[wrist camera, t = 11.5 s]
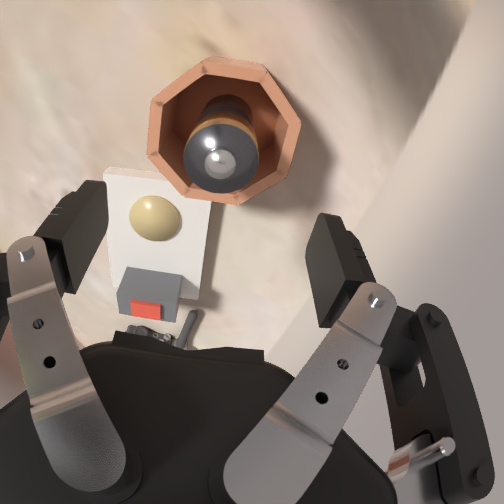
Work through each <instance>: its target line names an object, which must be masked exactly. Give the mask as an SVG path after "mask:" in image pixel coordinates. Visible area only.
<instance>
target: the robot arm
mask: <svg viewBox="0 0 504 504" xmlns="http://www.w3.org/2000/svg"><path fill="white" fill-rule="evenodd" d="M108 223H109V212H108V198H107V185H106V182H104V181H94V180H86V181H85V182H84V183H83V184H82V185H81V186H80V188H79V189H78V190H77V191H76V192H71V193H69V194H68V195H66V196H65V197H63V198H62V199H61V200H60V201H59V203H58V204H57V205H56V208H54V209H53V210H52V211H51V213H50V215H48V217H47V218H46V219H45V221H44V222H43V223H42V224H41V226H40V227H39V228H38V230H37V231H36V233H35V234H34V235H33V236H27V237H23V238H21V239H19V240H17V241H15V242H14V243H13V244H12V245H11V246H10V247H9V249H8V251H7V253H0V341H1V338H2V336H3V334H4V331H5V329H6V326H7V324H8V322H9V319H10V323H11V328H12V333H13V338H14V343H15V347H16V352H17V356H18V360H19V364H20V368H21V372H22V375H23V379H24V383H25V386H26V389H27V390H25V391H24V392H23V393H21V394H20V395H19V396H17V397H16V398H15V399H14V400H12V401H11V402H9V403H8V404H7V405H6V406H4V407H3V408H2V409H0V504H469V503H471V502H474V501H477V500H480V499H482V498H484V497H485V496H487V495H488V494H489V492H490V491H491V489H492V487H493V484H494V478H495V476H494V475H495V473H494V467H493V461H492V457H491V452H490V448H489V443H488V439H487V434H486V430H485V427H484V423H483V419H482V415H481V412H480V408H479V405H478V401H477V398H476V395H475V392H474V388H473V385H472V382H471V379H470V376H469V373H468V370H467V367H466V364H465V361H464V359H463V356H462V353H461V351H460V348H459V345H458V343H457V340H456V337H455V335H454V332H453V330H452V327H451V326H450V323H449V320H448V318H447V316H446V315H445V314H444V313H443V312H442V310H440V309H439V308H438V307H436V306H434V305H432V304H428V303H424V304H421V305H420V306H419V308H418V309H417V310H416V311H415V312H413V311H410V310H408V309H405V308H402V307H400V306H397V303H396V299H395V297H394V296H393V294H392V293H391V292H390V291H389V290H388V289H386V288H385V287H383V286H382V285H380V284H378V283H376V280H375V278H374V275H373V273H372V270H371V268H370V266H369V263H368V261H367V259H366V256H365V254H364V252H363V249H362V247H361V244H360V242H359V240H358V239H357V238H356V237H355V236H354V234H353V233H352V232H351V231H347V230H346V228H345V226H344V224H343V221H342V219H341V217H340V216H336V215H331V214H326V213H320V214H319V215H318V217H317V220H316V223H315V225H314V228H313V231H312V233H311V236H310V239H309V241H308V244H307V248H306V254H305V259H306V265H307V269H308V274H309V279H310V284H311V288H312V293H313V298H314V303H315V308H316V313H317V318H318V324H319V327H320V328H331V329H330V331H329V333H328V334H327V335H326V337H325V338H324V340H323V341H322V342H321V344H320V345H319V347H318V348H317V349H316V351H315V352H314V353H313V355H312V356H311V358H310V359H309V360H308V362H307V363H306V364H305V366H304V367H303V368H302V370H301V371H300V372H299V374H298V375H297V376H296V378H294V377H293V376H292V375H291V374H289V373H288V372H286V371H285V370H283V369H282V368H280V367H278V366H276V365H273V364H271V363H269V362H266V361H264V350H255V349H244V348H234V347H221V348H212V349H202V350H190V351H189V350H184V349H181V348H179V347H176V346H173V345H171V344H168V343H165V342H163V341H160V340H158V339H155V338H153V337H150V336H143V335H138V334H132V333H126V332H121V331H115V334H114V338H113V341H107V342H101V343H97V344H93V345H90V346H88V347H85V348H83V349H82V350H80V349H79V346H78V344H77V341H76V338H75V336H74V333H73V330H72V328H71V325H70V322H69V320H68V317H67V314H66V311H65V308H64V305H63V302H62V296H63V294H64V292H66V293H71V294H76V292H77V290H78V288H79V286H80V284H81V281H82V279H83V277H84V275H85V273H86V271H87V269H88V267H89V265H90V263H91V261H92V259H93V257H94V255H95V253H96V251H97V249H98V247H99V245H100V243H101V241H102V239H103V237H104V236H105V234H106V231H107V228H108ZM420 362H422V365H423V369H424V373H425V377H426V382H425V386H424V388H423V385H422V381H421V377H420V373H419V369H418V366H417V365H418V364H419V363H420ZM376 364H379V365H380V369H381V374H382V379H383V384H384V389H385V394H386V399H387V404H388V410H389V416H390V422H391V428H392V435H393V441H394V448H395V452H394V453H393V454H392V456H391V457H390V460H389V465H388V468H387V469H386V471H385V472H384V471H383V470H382V469H381V468H380V467H379V466H378V465H377V464H376V463H375V462H374V461H373V460H372V459H371V458H370V457H369V456H368V455H367V454H366V453H365V452H364V451H363V450H362V449H361V448H360V447H359V446H358V445H357V444H356V443H355V442H354V440H353V439H352V438H351V437H350V436H349V435H348V434H347V433H346V432H345V431H344V430H343V429H342V427H343V426H344V424H345V422H346V420H347V419H348V417H349V415H350V413H351V412H352V410H353V408H354V406H355V404H356V402H357V400H358V399H359V397H360V395H361V393H362V391H363V389H364V387H365V385H366V383H367V381H368V379H369V377H370V375H371V373H372V371H373V369H374V367H375V365H376Z"/></svg>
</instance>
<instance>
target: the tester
mask: <svg viewBox="0 0 504 504" xmlns="http://www.w3.org/2000/svg"><path fill="white" fill-rule="evenodd" d="M103 181H104V182H106V185H107V198H108V212H109V223H108V228H107V231H106V233H107V244H108V253H109V262H110V270H111V278H112V285H113V287H117V288H118V291H117V293H116V294H117V301H118V307H119V313H120V314H126V315H131V316H136V317H142V318H148V319H154V320H161V321H167V322H174V323H175V322H176V317H177V311H178V306H179V301H180V298H186V299H193V300H198V298H199V291H200V282H201V274H202V267H203V259H204V252H205V244H206V237H207V230H208V223H209V216H210V210H211V203H212V201H206V200H199V199H192V198H185V197H184V195H183V196H182V195H181V194H180V193H179V192H178V191H177V190H176V189H175V188H174V186H173V185H172V184H171V183H170V182H169V181H168V180H167V179H166V177H165V176H164V175H163V174H162V173H161V172H154V171H145V170H136V169H127V168H117V167H108V168H107V170H106V171H105V172H104V173H103Z"/></svg>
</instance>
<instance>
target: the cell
mask: <svg viewBox="0 0 504 504" xmlns="http://www.w3.org/2000/svg"><path fill="white" fill-rule="evenodd" d="M183 162H184V168H185V171H186V173H187V175H188V177H189V178H190V179H191V181H192V182H193V183H194V184H196V185H197V186H198V187H200V188H201V189H203V190H205V191H208V192H212V193H218V194H224V193H231V192H234V191H237V190H239V189H241V188H243V187H244V186H246V185H247V184H248V183H249V182H250V181H251V180H252V178H253V177H254V175H255V173H256V171H257V168H258V164H259V151H258V144H257V137H256V134H255V129H254V122H253V115H252V111H251V108H250V106H249V105H248V104H247V102H246V101H245V100H243V99H242V98H240V97H238V96H235V95H231V94H224V95H219V96H217V97H215V98H213V99H211V100H210V101H209V102H208V103H207V104H206V106H205V108H204V109H203V111H202V114H201V116H200V118H199V120H198V122H197V124H196V126H195V127H194V129H193V131H192V133H191V135H190V137H189V139H188V141H187V143H186V146H185V149H184V154H183Z"/></svg>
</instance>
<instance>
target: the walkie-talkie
mask: <svg viewBox="0 0 504 504" xmlns="http://www.w3.org/2000/svg"><path fill="white" fill-rule="evenodd" d="M196 317H197V312H196V311H195V310H191V311H190V312H189V314H188V317H187V319H186V321H185V324H184V326H183V329H182V331H181V334H180V336H179V338H178V339H177V340H176V339H173V338H172V337H171V336H170V335H169V334H166V335H164V334H161V333H157V332H153V331H150V330H147V329H146V328H145V327H143V326H137V327H136V326H133V325H129V326H128V329H127V332H126V333H132V334H138V335H143V336H150V337H153V338H155V339H158V340H160V341H163V342H165V343H168V344H171V345H173V346H176V347H179V348H181V349H184V350H187V344H188V343H187V342H186V340H187V337H188V335H189V333H190V331H191V328H192V326H193V324H194V321H195V319H196Z"/></svg>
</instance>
